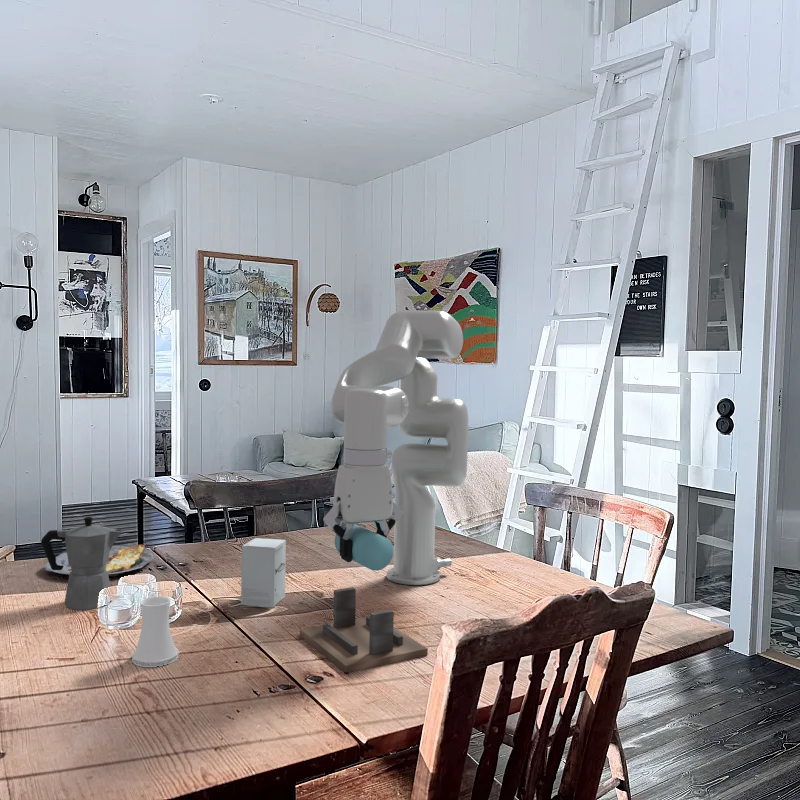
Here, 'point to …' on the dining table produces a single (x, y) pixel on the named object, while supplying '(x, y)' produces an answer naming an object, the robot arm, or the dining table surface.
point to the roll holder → (361, 637)
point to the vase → (155, 635)
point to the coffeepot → (83, 561)
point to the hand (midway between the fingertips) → (363, 557)
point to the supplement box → (263, 572)
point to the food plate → (114, 560)
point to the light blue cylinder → (369, 548)
